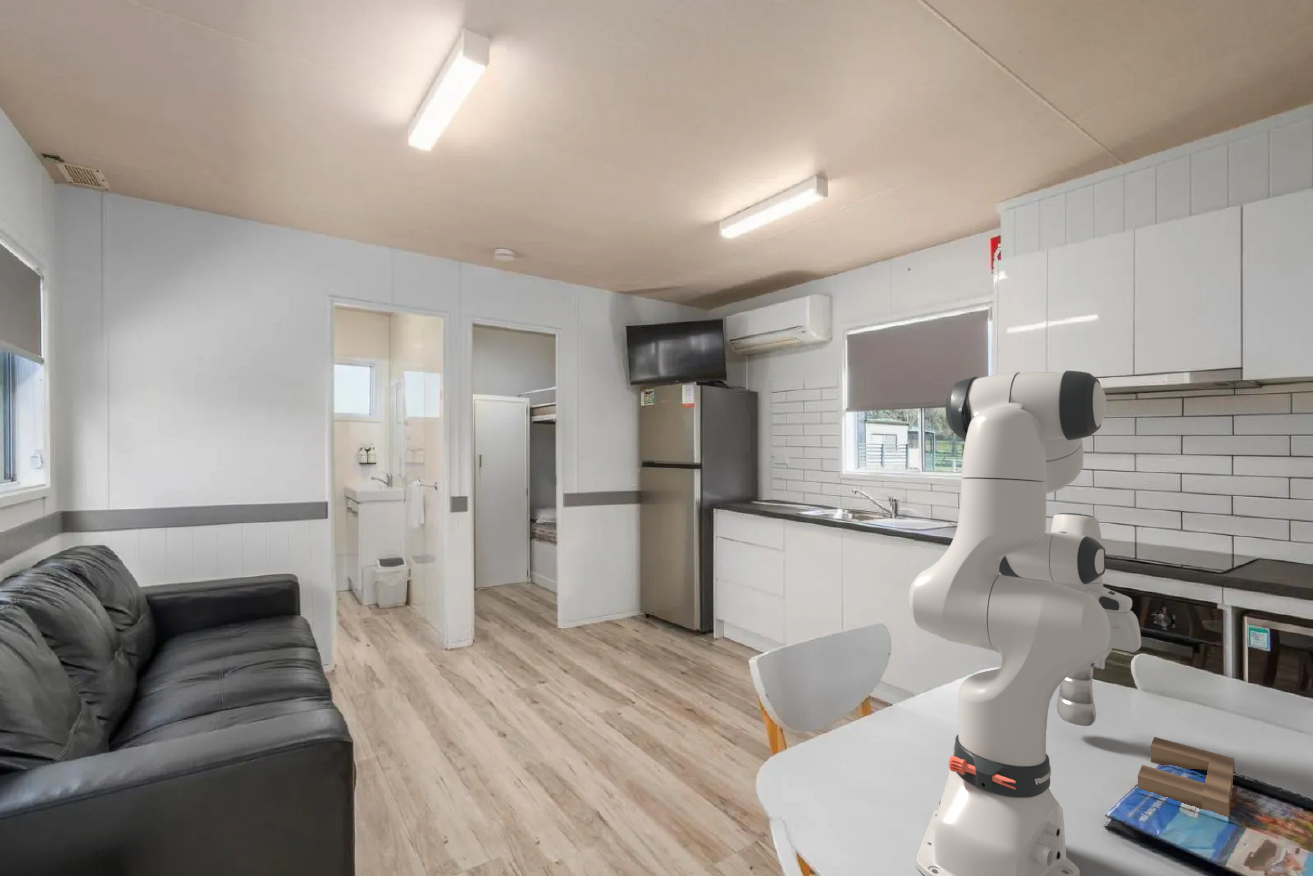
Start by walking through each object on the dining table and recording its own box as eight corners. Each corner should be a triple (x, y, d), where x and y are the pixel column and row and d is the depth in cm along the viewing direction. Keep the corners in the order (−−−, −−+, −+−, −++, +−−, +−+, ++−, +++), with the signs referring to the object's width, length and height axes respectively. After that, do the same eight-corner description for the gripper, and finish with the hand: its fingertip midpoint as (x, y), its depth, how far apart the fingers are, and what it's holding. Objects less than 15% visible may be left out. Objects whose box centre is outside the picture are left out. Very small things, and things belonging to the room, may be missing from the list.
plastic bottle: (1084, 716, 122) (1083, 618, 123) (1104, 731, 115) (1103, 627, 116) (1050, 714, 123) (1049, 617, 124) (1068, 729, 116) (1067, 626, 117)
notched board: (1228, 823, 92) (1228, 803, 92) (1137, 793, 100) (1137, 775, 100) (1234, 775, 106) (1234, 758, 106) (1154, 752, 114) (1154, 736, 114)
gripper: (1013, 587, 125) (1013, 653, 125) (1136, 605, 110) (1137, 681, 110) (1021, 583, 130) (1022, 647, 129) (1142, 600, 115) (1143, 672, 114)
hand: (1076, 663), depth 119 cm, fingers closed on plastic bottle, 6 cm apart
